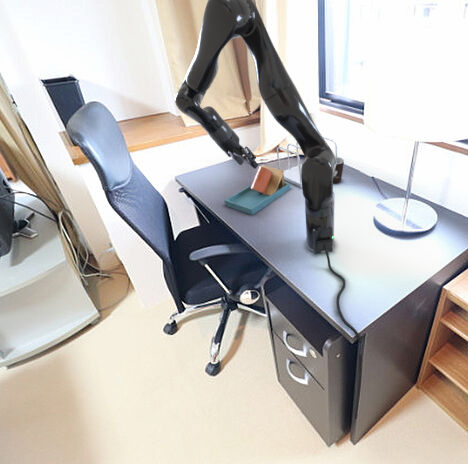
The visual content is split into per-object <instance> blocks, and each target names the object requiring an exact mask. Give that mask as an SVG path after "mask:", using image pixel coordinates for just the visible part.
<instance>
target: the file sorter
mask: <svg viewBox="0 0 468 464" xmlns="http://www.w3.org/2000/svg"><path fill="white" fill-rule="evenodd" d="M322 137H323V138H324V140H327V141H331V142H333V143H334V145H335V157H338V144H337V142H336V141H335V140H334V139H331V138H328V137H325V136H322ZM290 146H292V147H294V148H296V152H295V151H293V150H290V149H289V147H290ZM279 149H281V150H283V151H285V152H287V164H288V168H287V169H285V170H283V171H284V181H287V183H288V182H289V184H292V185H295V186H297V187H299V188H302V179H301V167H302V164H303V163H301V158H300V155H299V150H301V148H300V146H299V144H298V143H297V142H296V144H293V143H288V144H287V145H286V148H285V147H283V146H278V147H277V148H276V156H277V165H278V169H280V170H281V164H280V163H281V162H280V155H279ZM290 153H291V154H293V155H295V156H296V159H297V160H296V161H297V165H295V166H292V167H291V164H290Z"/></svg>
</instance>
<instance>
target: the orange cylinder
mask: <svg viewBox="0 0 468 464" xmlns="http://www.w3.org/2000/svg"><path fill="white" fill-rule="evenodd" d="M272 174H273V172H272V171H270V170H268V169H266V168H264V167H261V166H258V167H257V170H256V173H255V175H254V178H253V180H252V183H251V184H252V185H251V184H250V185H251V187H250V189H251V190H253V191H255V192H257V193H260V194H263V195H264V194H265V191H266V189H267V186H268V184H269V181H270V179H271V176H272Z"/></svg>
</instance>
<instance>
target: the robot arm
mask: <svg viewBox="0 0 468 464" xmlns="http://www.w3.org/2000/svg"><path fill="white" fill-rule="evenodd" d="M256 5H257V4H255V1H254V0H207V2H206V5H205V9H204V11H203V17H202V22H201V27H200V31H199V36H198V41H197V45H196V49H195V52H194V55H193V57H192V59H191V61H190V63H189V65H188V67H187V70H186V73H185V77H184V78H183V81H182V82H181V85H180V87H179V88H178V90H177V92H176V95H175V96H174V104H175V106H176V107H177V109H178V110H179V111H180V112H181V113H182V114H184V115H185V116H187V117H188V118H190V119H191V120H193V121H194V122H196V123H198V125H200V126H201V128H203V130H204V131H205V132H206V133H207V134H208V136H209V137H210V139H212V141H213V142H214V143H215V144H216V145H217V146H218V147H219V148H220V149H221V151H223V152H224V154H226V155H227V157H228V158H232V160H234V161H235V162H236V163H237V164H238V165H239V166H242V165H243V163H244V162H245V161H246V162H247V163H248V164H249V165H250V166H251V167H252V168H253V169H255V170H256V169H258V167H259V164H258V162H257V161H256V159H257V156H256V154H254V153H253V152H252V150H251V149H250V148H249V147H248V146H245V147H243V145H241V144H240V137H239V136H238V134H237V132H235V131H234V129H233V128H232V127H231V126H230V124H229V123H227V121H226V120H225V119H224V118H223V117H222V116H221V115H220V113H219V112H218V111H217V110H216V109H215V108H214V107H213V106H210V105H207V106H204V107H202V106H201V104H202V102H203V100H204V98H205V96H206V94H207V91H208V90H209V89H210V88H211V86H212V84H213V82H214V80H215V79H216V77H217V74H218V72H219V69H220V60H219V59H220V54H221V53H222V51H223V49H224V48H225V47H226V46H227V44H228V43H229V42H230V41H232V40H235V39H238V38H241V39H242V41H243V43H244V44H245V45H246V47H247V49H248V51H249V53H250V55H251V58H252V60H253V64H254V67H255V68H254V69H255V76H256V83H257V87H258V88H257V89H258V92H259V95H260V97H261V99H262V101H263V102H264V105H265V106H266V108H267V109H268V111H269V114H270V115H271V116H272V117H273V119H274V120H275V121H276V122H277V123H278V124H279V126H281V127H282V128H283V129H284V130H285V131H286V132H288V133H289V134H290V135H291V136H292V137H293V139H294V140H295V141H296V143H298V147H300V148H301V149H300V150H301V152H302V153H303V156H304V158H305V159H304V160H303V162H302V163H301V164H302V167H301V179H302V187H301V189H302V191H301V192H302V195H303V198H304V211H305V212H304V213H305V231H306V248H307V249H308V251H310V252H312V253H313V254H314V255H320V254H325V256H326V259H327V266H328V269H329V271H330V272H331V273H332V274H333V275H334V276H336V277H338V278H339V279H341V281H342V286H341V288H340V290H339V292H337V293H338V294H337V295H336V310H337V312H338V316H339V317H340V319H341V321H342V322H343V324H344V326H346V327H347V328H348V329H350V330H351V331H352V332H353V333H354V335H355V336H356V339H357V341H358V343H360V344H362V343H363V342H362V338H361V335H360V333H359V332H358V331H357V330H356V328H355V327H353V326H352V325H351V324H350V323H349V322H348V321H347V320H346V319H345V317H344V316H343V312H342V310H341V307H340V298H341V295H342V293H343V292H344V290H345V289H346V283H347V282H346V279H345V278H344V277H343V275H340V273H337V272H336V271H335V270H334V269H333V268H332V265H331V259H330V258H331V257H330V255H329V253H332V252H333V250H334V247H335V203H336V202H335V200H336V199H335V197H336V196H335V192H334V184H333V174H334V171H335V169H336V154H335V153H334V151H333V149H331V147H330V145H329V144H328V143H327V142H326V139H324V138H323V137H324V136H323V135H322V134H321V132H320V130H319V129H318V127H317V126H316V124H315V122H314V119H313V117H312V116H311V113H310V112H309V110H308V107H307V106H306V104H305V102H304V100H303V98H302V96H301V94H300V92H299V90H298V88H297V87H296V85H295V83H294V81H293V79H292V77H291V76H290V74H289V73H288V71H287V69H286V67H285V65H284V63H283V61H282V59H281V57H280V55H279V53H278V51H277V50H276V47H275V45H274V43H273V42H272V39H271V37H270V35H269V32H268V29H267V27H266V25H265V23H264V20H263V19H262V16H261V13H260V11H259V9H258V7H257V6H256ZM362 373H363V354H358V380H357V381H358V382H357V393H356V400H355V401H356V402H355V409H354V419H355V420H357V419H358V414H359V413H358V412H359V403H360V396H361V389H362V377H363V376H362V375H363V374H362Z"/></svg>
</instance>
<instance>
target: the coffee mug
mask: <svg viewBox="0 0 468 464" xmlns="http://www.w3.org/2000/svg"><path fill="white" fill-rule="evenodd" d="M335 157H336V156H335ZM344 164H345V159H344V158H343V157H340V156H337V157H336V169H335V171H334V174H333V185H338V184H340V183H341V182H342V178H343V171H344Z"/></svg>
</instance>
